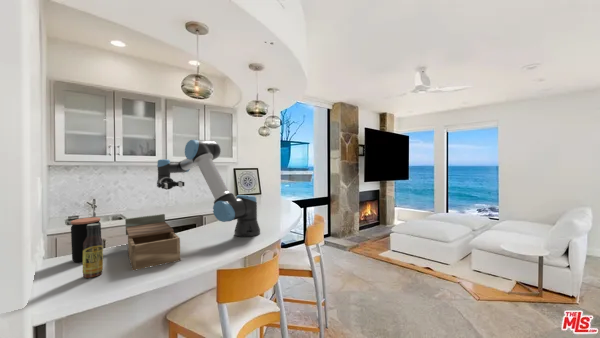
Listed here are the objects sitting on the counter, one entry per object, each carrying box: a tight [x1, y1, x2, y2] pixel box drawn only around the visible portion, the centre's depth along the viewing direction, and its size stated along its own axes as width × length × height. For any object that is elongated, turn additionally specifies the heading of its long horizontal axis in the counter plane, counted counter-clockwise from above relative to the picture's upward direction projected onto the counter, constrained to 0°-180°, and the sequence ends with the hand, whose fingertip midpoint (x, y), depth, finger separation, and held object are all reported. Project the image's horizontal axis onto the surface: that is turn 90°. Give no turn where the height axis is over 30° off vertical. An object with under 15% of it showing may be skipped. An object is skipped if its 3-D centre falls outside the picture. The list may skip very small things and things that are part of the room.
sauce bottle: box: [82, 224, 104, 279], centre depth 104 cm, size 6×6×20 cm
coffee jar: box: [70, 217, 102, 264], centre depth 123 cm, size 11×11×18 cm
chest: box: [127, 232, 181, 271], centre depth 123 cm, size 22×18×10 cm
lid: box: [124, 213, 175, 238], centre depth 134 cm, size 25×18×8 cm
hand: (174, 185), depth 157 cm, fingers open, 7 cm apart
